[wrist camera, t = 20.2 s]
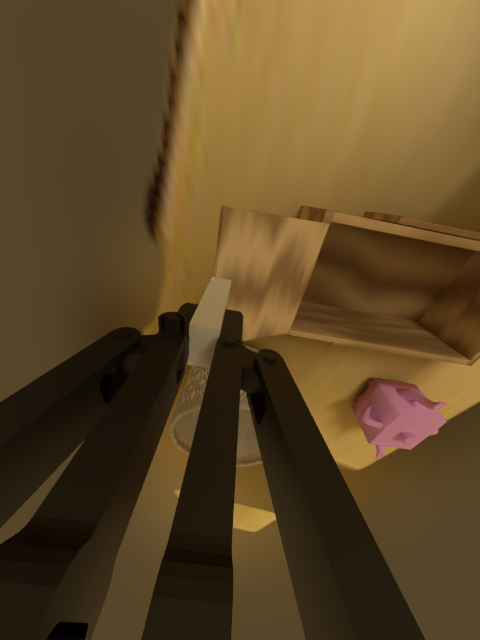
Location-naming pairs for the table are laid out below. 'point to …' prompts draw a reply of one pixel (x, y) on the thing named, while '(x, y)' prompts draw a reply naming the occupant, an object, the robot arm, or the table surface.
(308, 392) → the table surface
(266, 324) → the flap
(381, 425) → the teapot
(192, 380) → the planter
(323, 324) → the carton
